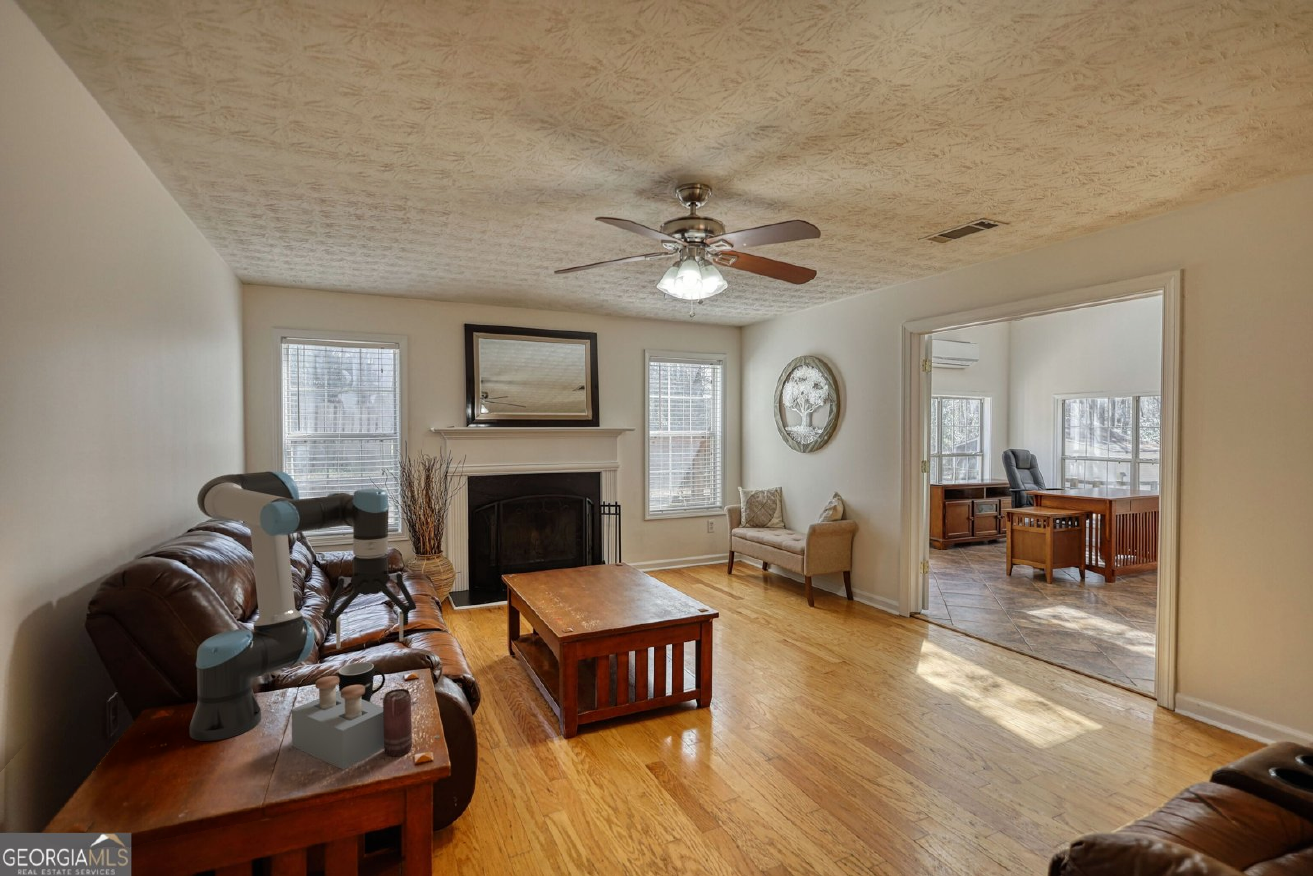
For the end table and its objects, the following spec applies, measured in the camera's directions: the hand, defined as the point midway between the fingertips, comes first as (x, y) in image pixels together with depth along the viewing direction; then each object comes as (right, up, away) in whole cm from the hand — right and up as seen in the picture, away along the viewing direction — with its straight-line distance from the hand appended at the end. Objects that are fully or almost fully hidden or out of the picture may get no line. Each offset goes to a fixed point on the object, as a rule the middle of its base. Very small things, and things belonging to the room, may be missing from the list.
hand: (370, 642), depth 149 cm
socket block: (-8, -26, +2) cm, 27 cm away
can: (+7, -26, 0) cm, 27 cm away
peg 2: (-4, -21, 0) cm, 21 cm away
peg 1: (-13, -21, +5) cm, 25 cm away
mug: (-14, -25, +25) cm, 38 cm away
